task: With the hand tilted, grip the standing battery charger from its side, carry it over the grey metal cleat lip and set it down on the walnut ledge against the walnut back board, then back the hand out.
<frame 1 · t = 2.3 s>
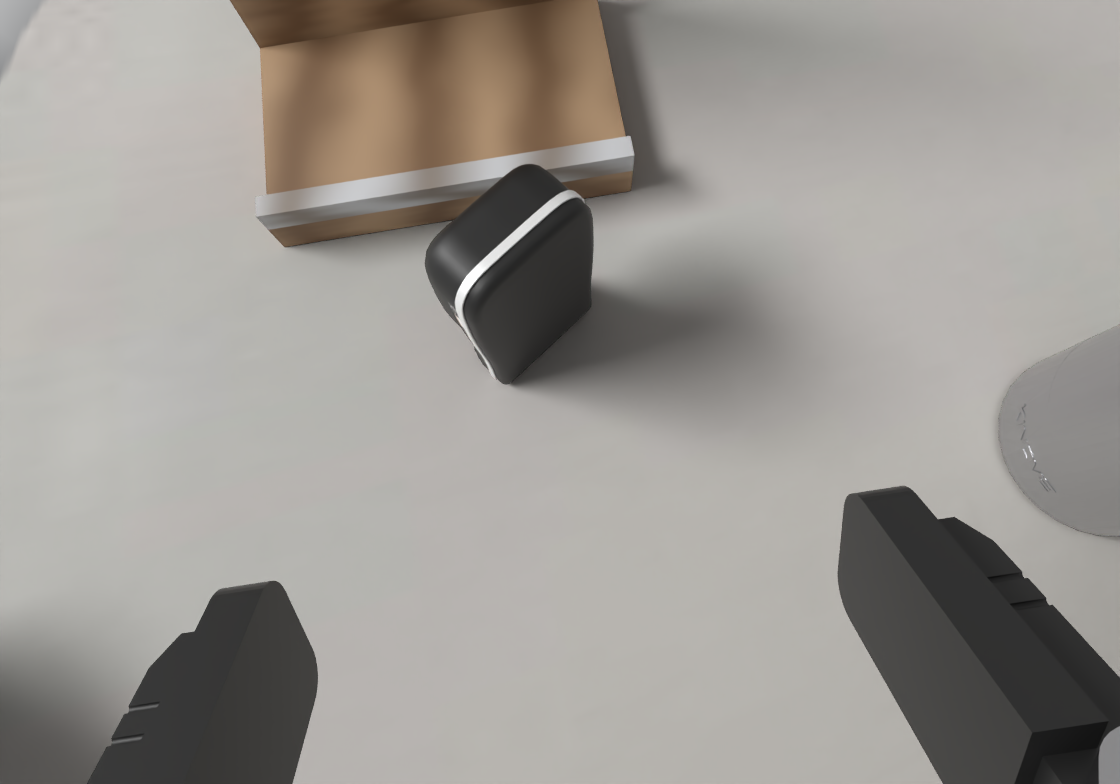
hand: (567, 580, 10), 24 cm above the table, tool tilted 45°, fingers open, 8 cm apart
battery charger: (527, 325, 37), on the table
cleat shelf: (446, 129, 40), on the table
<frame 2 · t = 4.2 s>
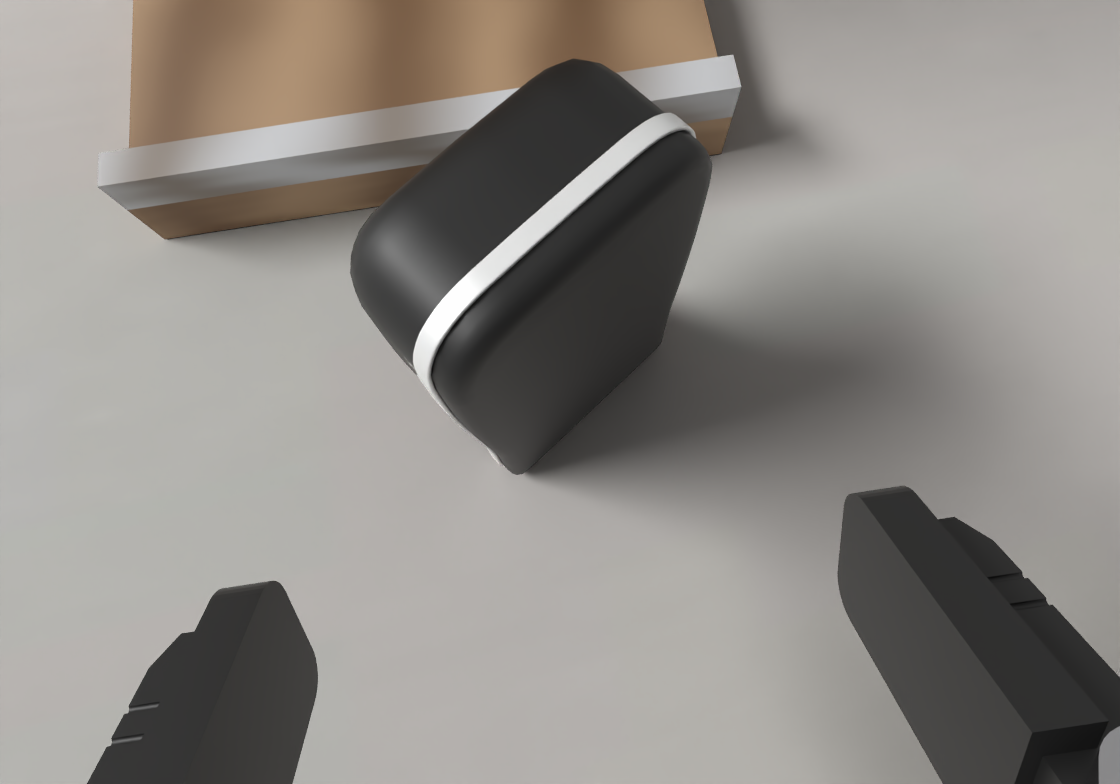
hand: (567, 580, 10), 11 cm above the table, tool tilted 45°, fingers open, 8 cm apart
battery charger: (553, 372, 22), on the table
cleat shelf: (426, 56, 26), on the table
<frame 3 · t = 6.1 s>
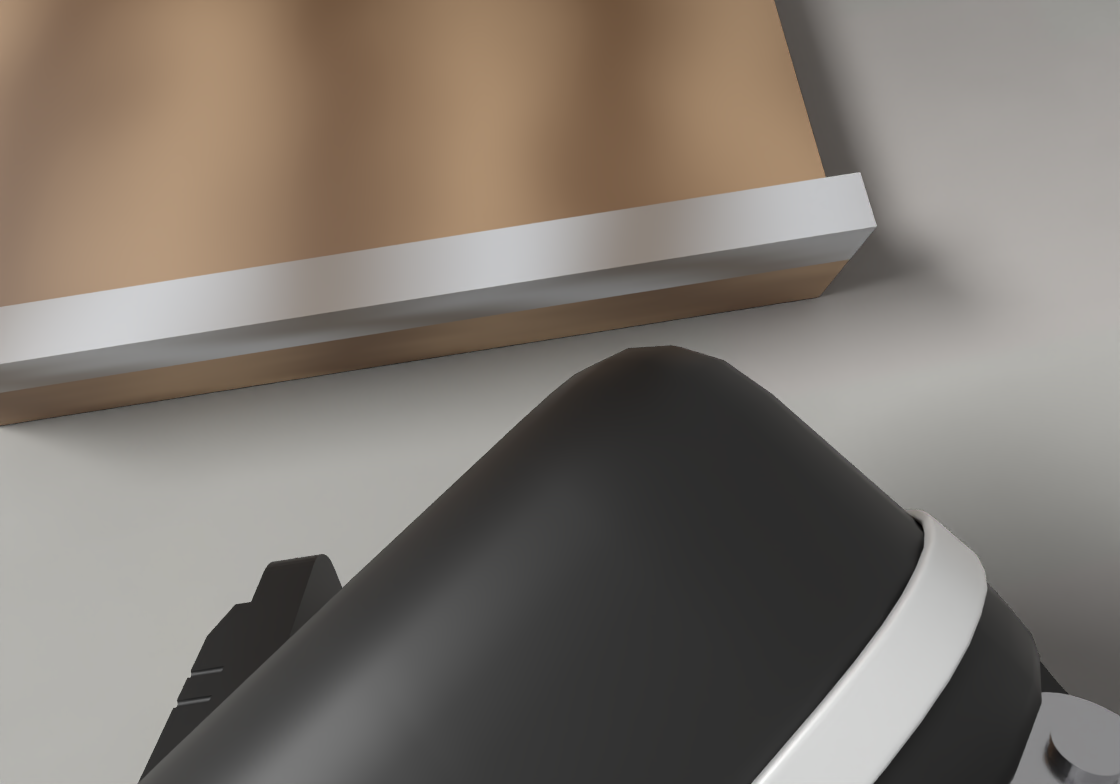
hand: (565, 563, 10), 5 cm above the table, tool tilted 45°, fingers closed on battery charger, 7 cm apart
battery charger: (575, 648, 15), on the table, touching gripper
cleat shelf: (386, 147, 18), on the table
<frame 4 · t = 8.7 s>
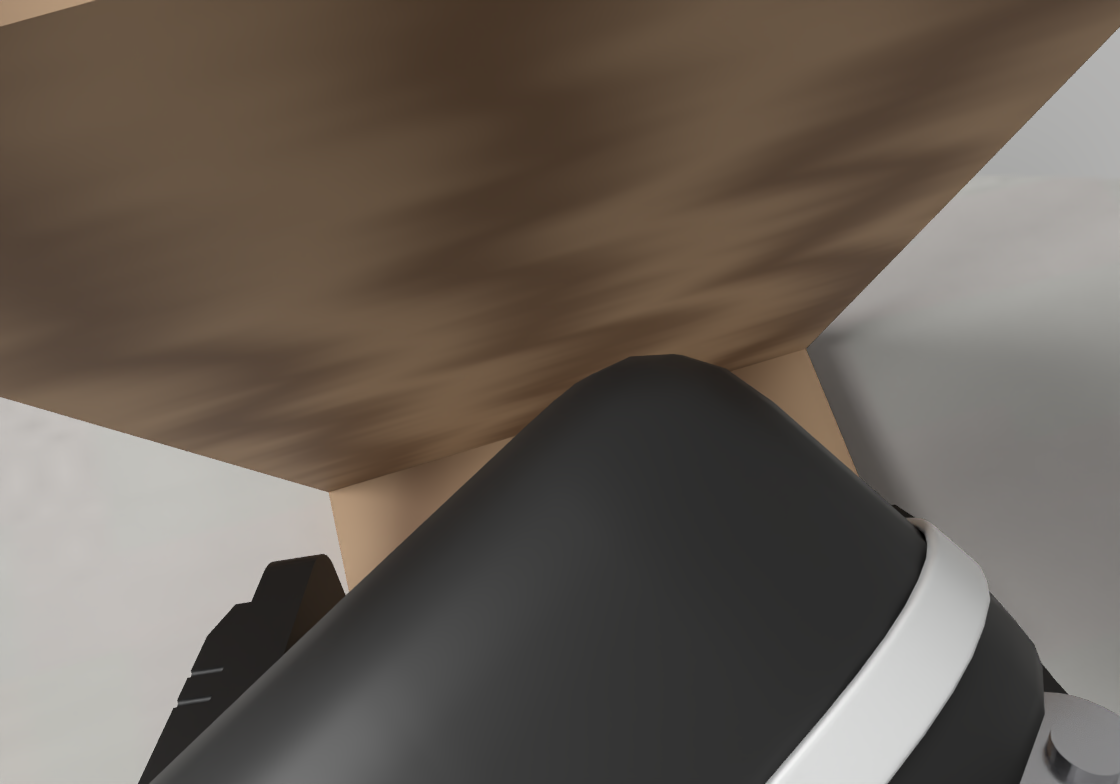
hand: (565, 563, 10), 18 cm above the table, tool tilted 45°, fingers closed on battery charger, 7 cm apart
battery charger: (576, 652, 15), point 13 cm above the table, touching gripper
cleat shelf: (613, 567, 28), on the table
when the fingers open (8 cm above the table, at t = 11.4 s): battery charger moves 1 cm, resting on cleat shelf.
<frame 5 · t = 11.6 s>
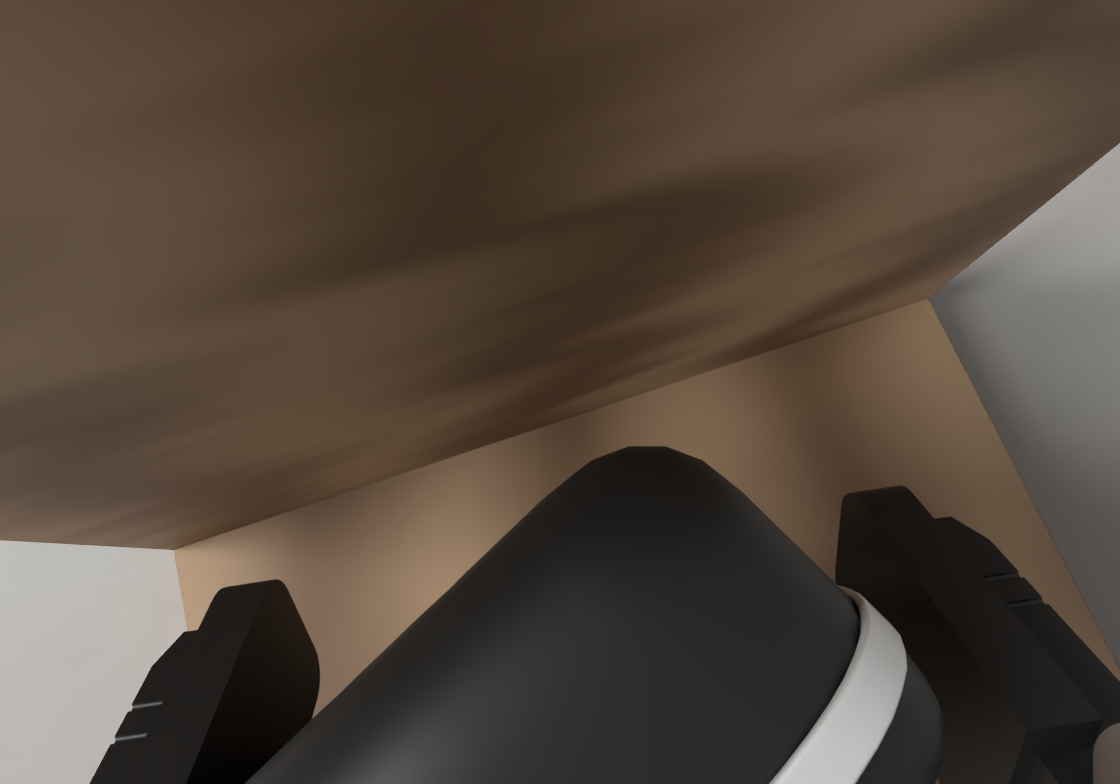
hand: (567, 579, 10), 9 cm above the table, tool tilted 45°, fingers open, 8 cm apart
battery charger: (533, 663, 16), point 2 cm above the table, touching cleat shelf, gripper
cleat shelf: (636, 653, 17), on the table
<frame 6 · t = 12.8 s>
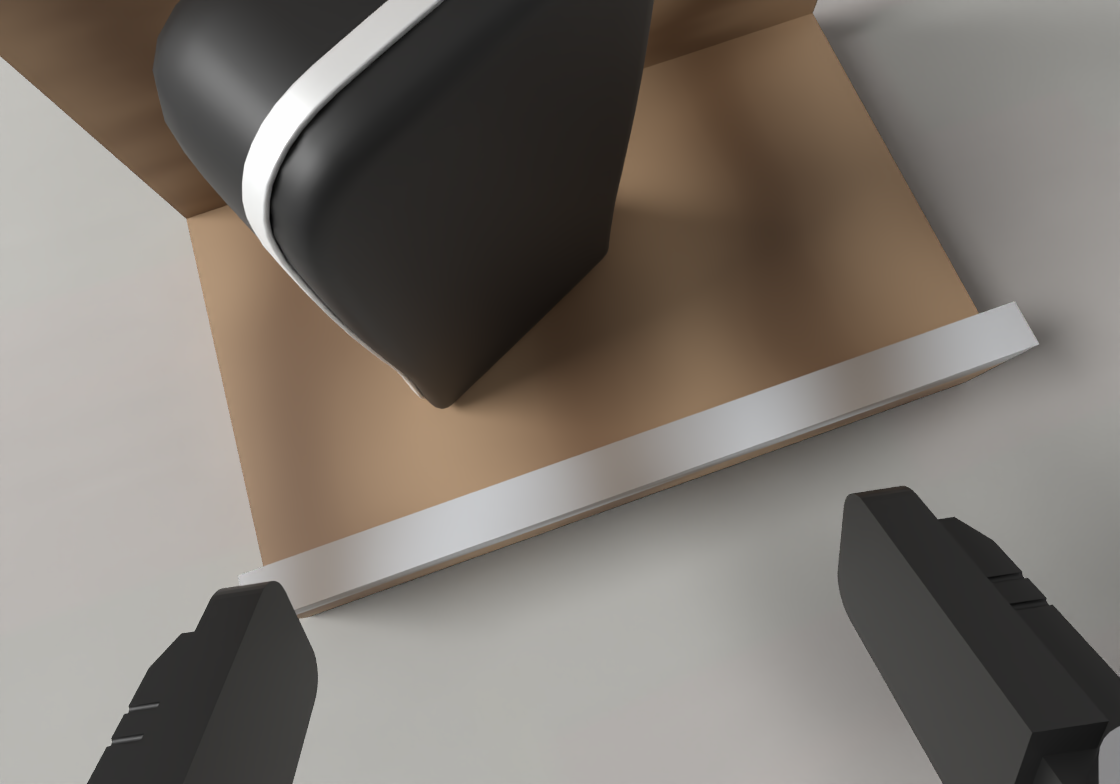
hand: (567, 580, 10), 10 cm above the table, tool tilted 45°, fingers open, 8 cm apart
battery charger: (483, 291, 19), point 2 cm above the table, touching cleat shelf
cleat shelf: (573, 312, 21), on the table
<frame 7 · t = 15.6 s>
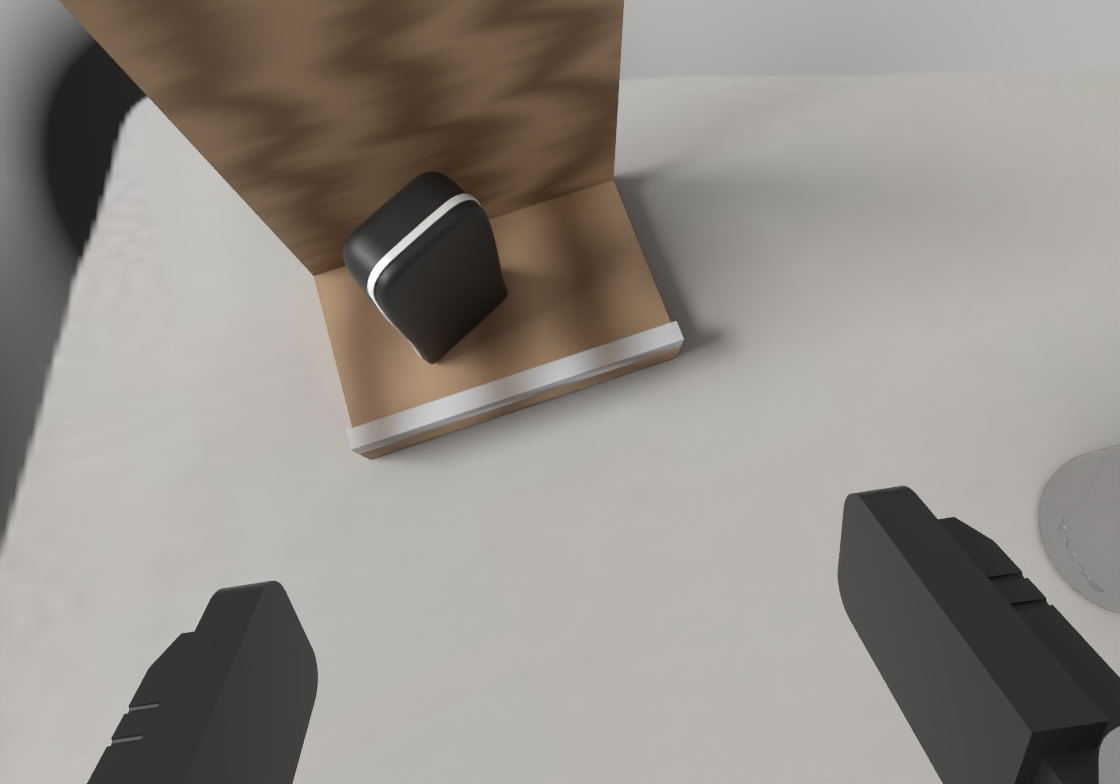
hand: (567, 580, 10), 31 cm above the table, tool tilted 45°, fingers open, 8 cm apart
battery charger: (452, 313, 42), point 2 cm above the table, touching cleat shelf
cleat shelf: (496, 322, 44), on the table
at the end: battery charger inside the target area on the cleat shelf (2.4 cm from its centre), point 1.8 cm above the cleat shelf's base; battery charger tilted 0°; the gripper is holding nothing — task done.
